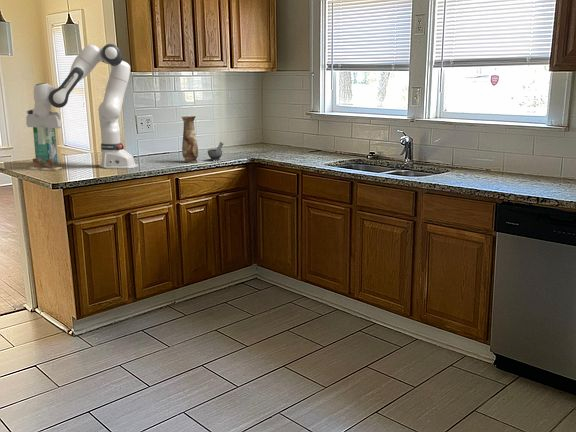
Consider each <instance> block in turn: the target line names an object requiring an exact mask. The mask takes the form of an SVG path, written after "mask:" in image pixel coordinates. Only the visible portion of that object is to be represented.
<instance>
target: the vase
mask: <svg viewBox="0 0 576 432" xmlns="http://www.w3.org/2000/svg"><path fill="white" fill-rule="evenodd" d="M180 117H181V119H182V121H183V133H182V144H181V152H182V153H181V154H182V157H183V159H184V161H183V163H185V162H196V163H198V162H197V161H198V160H197V158H198V157H199V145H198V142H197V141H198V140H197V135H196V130H195V124H194V121H195V119H196V117H197V115H194V114H192V115H188V114H187V115H185V114H184V115H181V116H180Z"/></svg>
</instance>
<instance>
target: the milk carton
mask: <svg viewBox="0 0 576 432" xmlns="http://www.w3.org/2000/svg"><path fill="white" fill-rule="evenodd" d="M32 131H33V143H34V153H35V158H42V163H46V159H55V163H56V164H58V163H59V161H58V160H59V159H58V150H57V149H58V148H57V137H56V128H52V130H51V136H52V143H45V144H38V131H37V127H32Z"/></svg>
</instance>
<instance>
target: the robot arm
mask: <svg viewBox="0 0 576 432" xmlns="http://www.w3.org/2000/svg"><path fill="white" fill-rule="evenodd" d="M100 62H101V63H104V64H107V65H109V66H110V72H109V73H110V74H109V76H108V81H107V83H106V86H105V93H104V95H103V101H102V102H101V103H99V105H98V109H97V110H98V111H97V112H98V119H99V126H100V137H101V138H100V141H101V143H100V149H101V150H100V151H101V158H100V159H101V161H100V165H99V166H100V167H101V168H103V169H123V170H125V169H129V170H130V169H134V168H138V167H139V164H138V163H135V159H134V156H133V155H132V154H131V153H129V152H128V151H127V150H126V149H125V144H123V143H121V142H122V141H121V128H120V122H119V118H120V116H121V112H122V107H123V105H124V104H123V103H124V97H125V94H126V90H127V87H128V83H129V82H130V81H129V80H130V75H131V65H130V64H129V63H128V62H127V61H124V60H123V57H122V52H121V50H120V48H119V47H118V45H115V44H113V43H108V44H105V45H104V46H103V47H98V46H97V45H95V44H90V43H89V44H88V45H86V46H85V47H84V48H83V49H82V50H81V51H80V52H79V53H78V55H77V56H76V57H75V58H74V60H73V62H72V64H71V65H70V66H71V67H70V70H69V73H68V75H67V76H66V78H65V79H64V80H63V81H62V83H61V85H59V87H55V86H53V85H51V84H50V83H47V82H40V83H37V84H34V87H33V100H34V108H32V109H28V110H26V117H25V118H26V119H25V120H26V121H25V125H26V126H27V127H28V128H33V127H39V126H41V127H45V128H47V130H48V132H47V133H46V136H50V132H51V130H52V128H55V129H61V128H62V121H61V114H60V113H59V112H56V111H52V107H53V108H56V109H57V108H60V109H61V108H64V107H65V106H66V105H67V104H68V101H69V96H70V94H71V93H72V91H73V90H74V89H75V87H76V86H77V84H78V83H79V82H80V81H81V80H83V79H85V78H86V77H87V76H89V75H90V73H92V72H93V70H94V69H95V68H96V66H97V65H98V63H100Z"/></svg>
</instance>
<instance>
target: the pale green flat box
mask: <svg viewBox="0 0 576 432" xmlns="http://www.w3.org/2000/svg"><path fill="white" fill-rule="evenodd" d="M37 131H38V144H45V143H52V136H51V132H50V136H46V133H47V132H48V130H47V128H45V127H41V126H39V127H37Z"/></svg>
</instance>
